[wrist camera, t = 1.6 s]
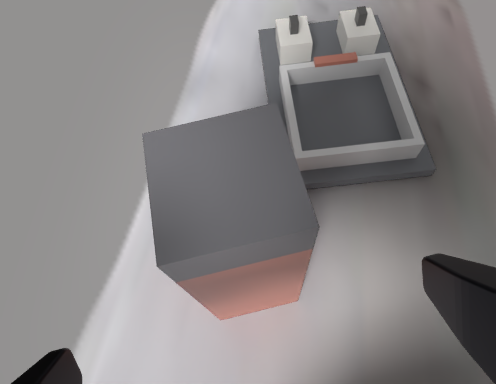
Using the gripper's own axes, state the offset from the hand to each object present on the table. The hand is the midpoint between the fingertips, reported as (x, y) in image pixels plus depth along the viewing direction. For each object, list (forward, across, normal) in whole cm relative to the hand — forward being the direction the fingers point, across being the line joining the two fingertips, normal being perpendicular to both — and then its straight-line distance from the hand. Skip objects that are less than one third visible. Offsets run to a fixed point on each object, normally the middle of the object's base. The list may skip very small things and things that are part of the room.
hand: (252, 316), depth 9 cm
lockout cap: (+12, 0, +6) cm, 13 cm away
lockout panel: (+20, -9, -3) cm, 22 cm away
